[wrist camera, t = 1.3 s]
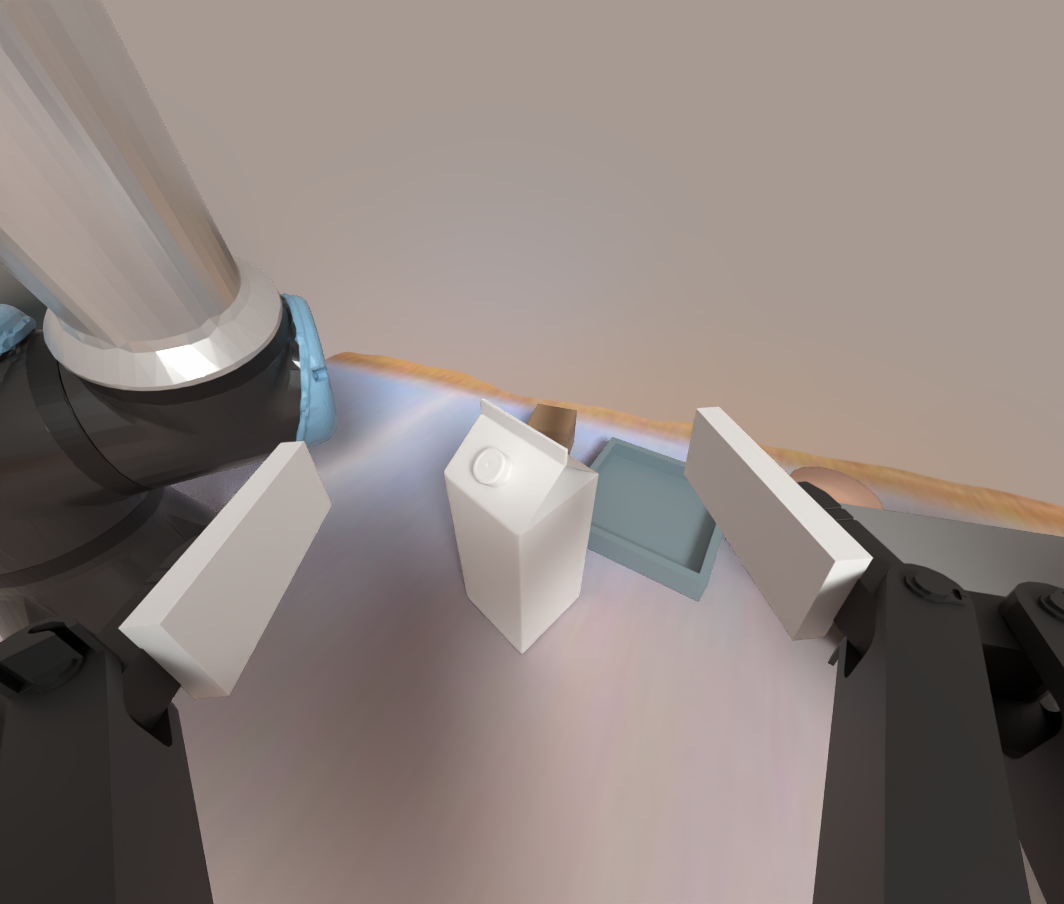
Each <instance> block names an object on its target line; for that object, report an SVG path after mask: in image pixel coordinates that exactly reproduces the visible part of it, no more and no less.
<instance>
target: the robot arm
mask: <svg viewBox="0 0 1064 904" xmlns="http://www.w3.org/2000/svg"><path fill="white" fill-rule="evenodd" d="M0 264H1V265H3V266H4V267H5V268H6V269H7V270H8V271H9V272H10V273H11V274H12V275H13V276H14V277H15V278H17V279H18V280H19V281H20V282H21V283H22V284H23V285H24V286H25V287H26V288H27V289H28V290H30V291H31V292H32V293H33V294H34V295H35V296H36V297H37V298H38V299H39V300H40V301H41V302H43V303H44V304H45V305H46V306H47V307H48V309H47V312H46V315H45V318H44V325H43V330H38V329H37V328H36V327H35V326H36V323H35V321H34V320H33V318H31V317H29V316H26V315H25V314H24V313H23V312H21V311H20V310H18V309H16V308H15V307H12V306H10V305H5V304H0V635H1V637H2V638H3V641H2V642H1V643H0V904H213V899H212V893H211V888H210V882H209V877H208V871H207V866H206V861H205V855H204V850H203V844H202V839H201V833H200V828H199V822H198V817H197V811H196V806H195V800H194V795H193V789H192V784H191V779H190V773H189V768H188V762H187V757H186V751H185V746H184V740H183V735H182V729H181V724H180V718H179V713H178V710H177V708H176V707H175V705H174V704H173V703H172V702H171V700H172V699H173V697H174V696H175V694H176V693H177V691H178V689H179V688H180V686H181V687H182V688H183V689H184V690H185V691H186V692H188V693H189V694H190V695H191V696H192V697H193V698H194V699H204V698H214V697H224V696H229V695H230V693H231V692H232V690H233V688H234V686H235V684H236V682H237V680H238V679H239V677H240V675H241V673H242V671H243V669H244V667H245V666H246V664H247V662H248V660H249V658H250V656H251V654H252V653H253V651H254V649H255V647H256V645H257V643H258V641H259V640H260V638H261V636H262V634H263V632H264V630H265V628H266V627H267V625H268V623H269V621H270V619H271V617H272V615H273V614H274V612H275V610H276V608H277V606H278V604H279V602H280V601H281V599H282V597H283V595H284V593H285V591H286V589H287V587H288V586H289V584H290V582H291V580H292V578H293V576H294V574H295V573H296V571H297V569H298V567H299V565H300V563H301V561H302V560H303V558H304V556H305V554H306V552H307V550H308V548H309V547H310V545H311V543H312V541H313V539H314V537H315V535H316V534H317V532H318V530H319V528H320V526H321V524H322V522H323V521H324V519H325V517H326V515H327V513H328V511H329V509H330V508H331V506H332V503H331V501H330V498H329V496H328V494H327V492H326V489H325V487H324V485H323V483H322V480H321V478H320V476H319V473H318V471H317V469H316V467H315V464H314V462H313V460H312V458H311V455H310V453H309V451H308V448H307V447H310V446H313V445H316V444H319V443H322V442H325V441H327V440H328V439H329V438H331V437H332V435H333V434H334V432H335V431H336V428H337V415H336V408H335V403H334V398H333V393H332V388H331V384H330V380H329V377H328V374H327V373H326V371H327V368H326V365H325V360H324V355H323V351H322V347H321V343H320V339H319V336H318V333H317V329H316V326H315V323H314V319H313V316H312V313H311V311H310V308H309V306H308V304H307V302H306V301H305V300H304V299H303V298H302V297H299V296H290V295H288V294H285V293H284V294H281V295H280V294H279V292H278V290H277V288H276V287H275V285H274V284H273V282H272V281H271V279H270V278H269V277H268V276H267V274H265V273H264V272H263V271H262V270H261V269H259V268H258V267H256V266H255V265H253V264H252V263H250V262H248V261H246V260H244V259H242V258H239V257H236V256H234V255H231V253H230V251H229V249H228V247H227V245H226V244H225V241H224V240H223V237H222V236H221V234H220V232H219V230H218V228H217V226H216V224H215V222H214V220H213V218H212V216H211V214H210V212H209V210H208V208H207V206H206V204H205V202H204V200H203V198H202V196H201V195H200V193H199V191H198V189H197V187H196V185H195V183H194V181H193V179H192V177H191V175H190V173H189V171H188V169H187V167H186V165H185V163H184V161H183V159H182V157H181V155H180V153H179V151H178V149H177V148H176V146H175V144H174V142H173V140H172V138H171V136H170V134H169V132H168V130H167V128H166V126H165V124H164V122H163V120H162V118H161V116H160V115H159V112H158V111H157V108H156V106H155V104H154V103H153V101H152V99H151V97H150V95H149V93H148V91H147V89H146V87H145V85H144V83H143V81H142V79H141V77H140V75H139V73H138V71H137V69H136V67H135V65H134V64H133V61H132V60H131V58H130V56H129V54H128V52H127V50H126V48H125V46H124V44H123V42H122V40H121V38H120V36H119V34H118V32H117V30H116V28H115V26H114V24H113V22H112V21H111V18H110V17H109V15H108V13H107V11H106V9H105V7H104V5H103V3H102V1H101V0H0ZM264 460H265V461H264ZM260 461H264V462H263V464H262V465H261V466H260V467H259V468H258V469H257V470H256V472H255V473H254V474H253V475H252V476H251V477H250V478H249V480H248V481H247V482H246V483H245V484H244V485H243V486H242V488H241V489H240V490H239V491H238V492H237V493H236V494H235V496H234V497H233V498H232V499H231V500H230V501H229V502H228V504H227V505H226V506H225V507H224V508H223V509H222V510H221V512H220V513H219V514H218V513H216V512H215V511H214V510H212V509H210V508H208V507H207V506H205V505H203V504H201V503H199V502H197V501H196V500H194V499H192V498H190V497H188V496H187V495H185V494H183V493H181V492H179V491H177V490H176V489H174V488H172V487H170V486H168V485H172V484H175V483H179V482H183V481H187V480H190V479H194V478H198V477H201V476H205V475H209V474H213V473H217V472H221V471H225V470H229V469H233V468H236V467H240V466H244V465H248V464H252V463H256V462H260ZM684 475H685V477H686V478H687V480H688V481H689V483H690V484H691V486H692V487H693V489H694V490H695V492H696V493H697V495H698V496H699V498H700V499H701V501H702V503H703V504H704V506H705V507H706V509H707V510H708V512H709V513H710V515H711V516H712V518H713V519H714V521H715V522H716V524H717V525H718V527H719V529H720V530H721V532H722V533H723V535H724V536H725V538H726V539H727V541H728V542H729V544H730V545H731V547H732V548H733V550H734V551H735V553H736V555H737V556H738V558H739V559H740V561H741V562H742V564H743V565H744V567H745V568H746V570H747V571H748V573H749V574H750V576H751V577H752V579H753V581H754V582H755V584H756V585H757V587H758V588H759V590H760V591H761V593H762V594H763V596H764V597H765V599H766V600H767V602H768V603H769V605H770V607H771V608H772V610H773V611H774V613H775V614H776V616H777V617H778V619H779V620H780V622H781V623H782V625H783V626H784V628H785V629H786V631H787V633H788V634H789V636H790V637H791V639H792V640H803V639H813V638H823V637H825V635H826V634H827V632H828V631H829V629H830V627H831V626H832V624H833V622H835V623H836V625H837V626H838V627H839V629H840V630H841V631H842V632H843V634H844V635H845V636H844V637H843V639H842V640H841V642H840V644H839V645H838V647H837V648H836V650H835V651H834V653H833V654H832V656H831V658H830V660H829V662H828V663H829V664H831V665H833V666H834V664H835V663H836V661H837V660H838V667H837V677H836V686H835V696H834V705H833V715H832V724H831V734H830V743H829V753H828V762H827V772H826V781H825V791H824V800H823V810H822V819H821V829H820V838H819V848H818V857H817V867H816V876H815V886H814V895H813V904H1031V900H1030V895H1029V890H1028V885H1027V879H1026V874H1025V869H1024V864H1023V858H1022V853H1021V848H1020V843H1019V840H1020V842H1021V845H1022V847H1023V849H1024V852H1025V854H1026V856H1027V859H1028V861H1029V863H1030V865H1031V868H1032V870H1033V872H1034V875H1035V877H1036V879H1037V882H1038V884H1039V886H1040V889H1041V891H1042V893H1043V895H1044V898H1045V900H1046V902H1047V904H1064V588H1060V587H1057V586H1053V585H1050V584H1047V583H1040V582H1031V581H1028V582H1024V583H1020V584H1018V585H1017V586H1016V587H1015V588H1014V589H1013V590H1012V591H1011V592H1010V593H1009V594H1008V595H1007V596H1006V597H1005V596H999V595H993V594H986V593H980V592H974V591H968V590H964V589H963V588H962V587H961V586H960V585H959V584H958V583H956V582H955V581H953V580H951V579H950V578H948V577H947V576H945V575H944V574H942V573H939V572H937V571H935V570H932V569H930V568H928V567H924V566H920V565H916V564H912V563H903V562H902V561H901V560H900V559H899V558H898V557H897V556H896V555H894V554H893V553H892V552H891V551H890V550H889V549H888V548H887V547H886V546H885V545H884V544H882V543H881V542H880V541H879V540H878V539H877V538H876V537H875V536H874V535H873V534H872V533H870V532H869V531H868V530H867V529H866V528H865V527H864V526H863V525H862V524H861V523H860V522H858V521H857V520H854V517H853V516H852V515H851V514H850V513H849V512H848V511H846V510H845V509H842V508H841V505H840V504H839V503H838V502H837V501H836V500H834V499H833V498H832V497H831V496H830V495H829V494H828V493H827V492H825V491H823V490H822V489H820V488H818V487H816V486H814V485H813V484H811V483H809V482H807V481H803V482H795V481H794V480H793V479H792V478H791V477H790V476H789V475H788V474H787V473H786V472H785V471H784V470H783V469H782V468H781V467H780V466H779V465H778V464H777V463H776V462H775V461H774V460H773V459H772V458H771V457H770V456H769V455H768V454H767V453H766V452H765V451H764V450H763V449H761V448H760V447H759V446H758V445H757V444H756V443H755V442H754V441H753V440H752V439H751V438H750V437H749V436H748V435H747V434H746V433H745V432H744V431H743V430H742V429H741V428H740V427H739V426H738V425H737V424H736V423H735V422H734V421H733V420H732V419H731V418H730V417H729V416H728V415H727V414H726V413H725V412H724V411H723V410H722V409H720V407H709V408H697V409H696V414H695V419H694V424H693V429H692V434H691V439H690V444H689V450H688V455H687V460H686V465H685V470H684ZM1050 693H1051V694H1052V696H1053V698H1054V699H1055V701H1056V702H1057V704H1058V707H1059V709H1060V711H1058V710H1057V709H1056V708H1055V706H1054V705H1053V704H1052V702H1051V700H1050V699H1049V697H1048V694H1050Z"/></svg>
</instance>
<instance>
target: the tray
mask: <svg viewBox="0 0 1064 904" xmlns="http://www.w3.org/2000/svg"><path fill="white" fill-rule="evenodd" d="M685 465H686V463H685V462H682V461H679V460H676V459H674V458H671V457H668V456H665V455H662V454H659V453H656V452H654V451H651V450H648V449H645V448H642V447H639V446H637V445H634V444H631V443H628V442H625V441H622V440H619V439H617V438H614V437H612V438H611V440H610V441H609V442H608V444H607V445H606V446H605V448H604V449H603V450H602V452H601V453H600V454H599V456H598V457H597V458H596V460H595V461H594V462H593V464H592V465H591V466H590V469H592V470H594V471H595V472H597V473H598V474H599V475H598V482H597V488H596V494H595V501H594V507H593V513H592V520H591V526H590V533H589V539H588V545H587V548H588V549H590V550H592V551H594V552H596V553H598V554H601V555H603V556H605V557H607V558H609V559H611V560H613V561H615V562H617V563H619V564H621V565H623V566H625V567H627V568H630V569H632V570H634V571H636V572H638V573H640V574H642V575H644V576H646V577H648V578H650V579H652V580H654V581H656V582H659V583H661V584H663V585H665V586H667V587H669V588H671V589H673V590H675V591H677V592H679V593H681V594H683V595H685V596H687V597H690V598H692V599H694V600H696V601H698V602H699V600H700V598H701V596H702V594H703V592H704V590H705V588H706V587H707V584H708V581H709V578H710V574H711V571H712V568H713V565H714V561H715V558H716V555H717V551H718V548H719V545H720V542H721V538H722V535H723V533H722V532H721V530H720V529H719V527H718V525H717V524H716V522H715V521H714V519H713V518H712V516H711V515H710V513H709V512H708V510H707V509H706V507H705V506H704V504H703V503H702V501H701V499H700V498H699V496H698V495H697V493H696V492H695V490H694V489H693V487H692V486H691V484H690V483H689V481H688V480H687V478H686V477H685V475H684V470H685Z"/></svg>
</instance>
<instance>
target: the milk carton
mask: <svg viewBox="0 0 1064 904" xmlns="http://www.w3.org/2000/svg"><path fill="white" fill-rule="evenodd" d="M480 403H481V414H480V416H479V417H478V419H477V421H476V422H475V424H474V425H473V427H472V428H471V430H470V431H469V433H468V435H467V436H466V438H465V439H464V441H463V442H462V444H461V446H460V447H459V449H458V450H457V452H456V453H455V455H454V457H453V458H452V460H451V461H450V463H449V464H448V466H447V468H446V469H445V471H444V475H445V482H446V488H447V493H448V498H449V504H450V509H451V514H452V519H453V525H454V530H455V535H456V541H457V546H458V551H459V556H460V562H461V567H462V572H463V577H464V583H465V588H466V593H467V596H468V598H469V599H470V600H471V601H472V602H473V603H474V605H475V606H476V607H477V608H478V609H479V610H480V611H481V612H482V613H483V614H484V615H485V616H486V617H487V618H488V619H489V620H490V621H491V622H492V624H493V625H494V626H495V627H496V628H497V629H498V630H499V631H500V632H501V633H502V634H503V635H504V636H505V637H506V638H507V639H508V640H509V642H510V643H511V644H512V645H513V646H514V647H515V648H516V649H517V650H518V651H519V652H520V653H524V652H525V651H526V650H527V649H528V648H529V647H530V646H531V645H532V644H533V643H534V642H535V641H536V640H537V639H538V638H539V637H540V636H541V635H542V634H543V633H544V632H545V631H546V630H547V629H548V628H549V627H550V626H551V624H552V623H553V622H554V621H555V620H556V619H557V618H558V617H559V616H560V615H561V614H562V613H563V612H564V611H565V610H566V609H567V608H568V607H569V606H570V605H571V604H572V603H573V602H574V601H575V600H576V599H577V598H578V597H579V595H580V590H581V584H582V577H583V571H584V564H585V558H586V552H587V545H588V539H589V533H590V526H591V520H592V513H593V507H594V501H595V494H596V488H597V482H598V475H599V474H598V473H597V472H595V471H594V470H592V469H590V468H589V467H587V466H586V465H584V464H582V463H581V462H579V461H577V460H576V459H574V458H572V457H571V456H569V455H568V449H567V448H565V447H563V446H562V445H560V444H558V443H557V442H555V441H553V440H552V439H550V438H548V437H547V436H545V435H543V434H542V433H540V432H538V431H537V430H535V429H533V428H532V427H530V426H528V425H527V424H525V423H523V422H522V421H520V420H518V419H517V418H515V417H513V416H512V415H510V414H508V413H507V412H505V411H503V410H502V409H500V408H498V407H497V406H495V405H493V404H492V403H490V402H488V401H487V400H485V399H483V398H482V399H480Z"/></svg>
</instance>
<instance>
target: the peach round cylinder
mask: <svg viewBox="0 0 1064 904" xmlns="http://www.w3.org/2000/svg"><path fill="white" fill-rule="evenodd" d="M790 477H791V478H792V479H793V480H794V481H795V482H803V481H807V482H809V483H811V484H813V485H814V486H816V487H818V488H820V489H822V490H823V491H825V492H827V493H828V494H829V495H830V496H831V497H832V498H833V499H834V500H836V501H837V502H838V503H842V504H849V505H855V506H862V507H868V508H875V509H882V510H883V506H882V504H881V502H880V500H879V499H878V497H877V496H876V495H875V494H874V493H873V492H872V491H871V490H870V489H869V488H867V487H866V486H865V485H863V484H862V483H860V482H859V481H857V480H855V479H854V478H852V477H850V476H847V475H845V474H843V473H840V472H837V471H834V470H831V469H826V468H820V467H804V468H799V469H797V470H795V471H793V472H792V473H791V475H790Z"/></svg>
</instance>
